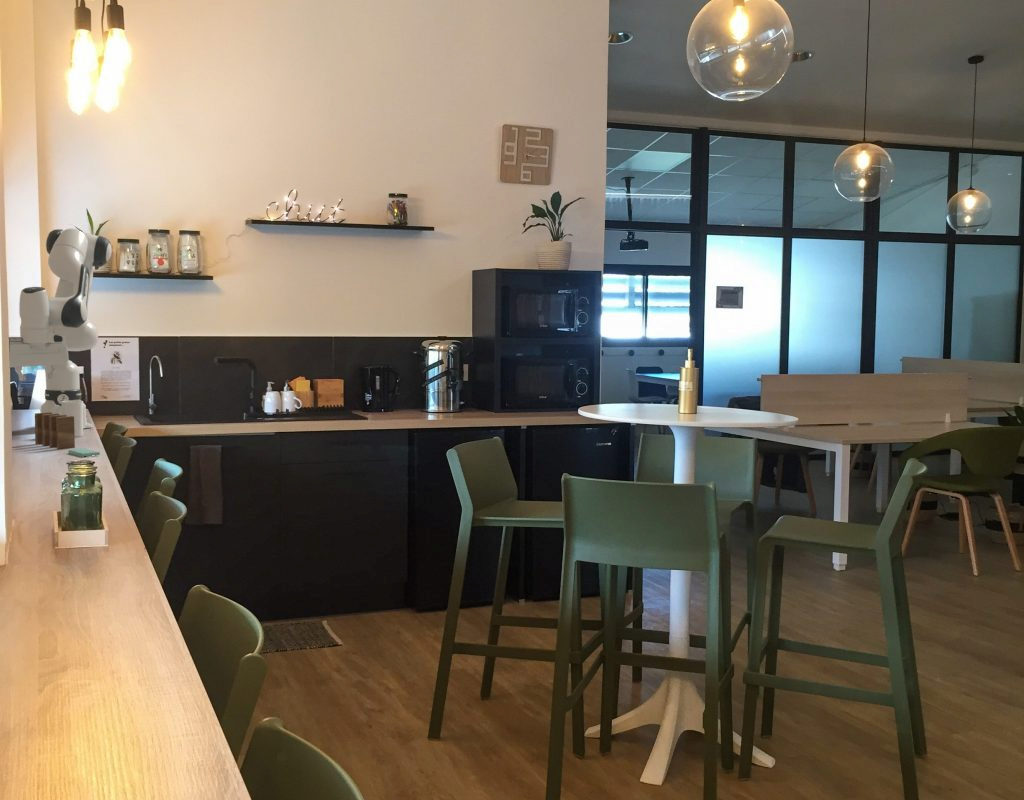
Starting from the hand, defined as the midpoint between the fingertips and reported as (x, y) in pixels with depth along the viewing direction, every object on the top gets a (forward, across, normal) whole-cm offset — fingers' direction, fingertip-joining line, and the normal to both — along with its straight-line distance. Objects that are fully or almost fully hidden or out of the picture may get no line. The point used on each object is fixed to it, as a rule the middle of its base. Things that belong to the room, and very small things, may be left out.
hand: (37, 379), depth 331 cm
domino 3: (+20, 0, -14) cm, 25 cm away
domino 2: (+20, -1, -9) cm, 22 cm away
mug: (+21, +13, +6) cm, 25 cm away
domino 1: (+20, -1, -5) cm, 21 cm away
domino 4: (+20, 0, -18) cm, 27 cm away
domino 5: (+20, -3, -29) cm, 35 cm away
